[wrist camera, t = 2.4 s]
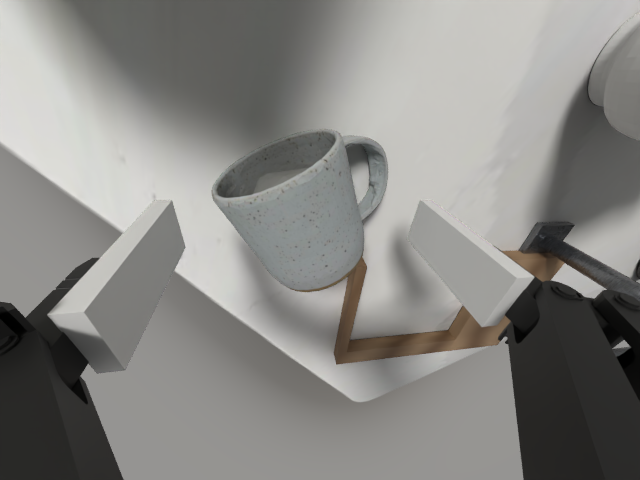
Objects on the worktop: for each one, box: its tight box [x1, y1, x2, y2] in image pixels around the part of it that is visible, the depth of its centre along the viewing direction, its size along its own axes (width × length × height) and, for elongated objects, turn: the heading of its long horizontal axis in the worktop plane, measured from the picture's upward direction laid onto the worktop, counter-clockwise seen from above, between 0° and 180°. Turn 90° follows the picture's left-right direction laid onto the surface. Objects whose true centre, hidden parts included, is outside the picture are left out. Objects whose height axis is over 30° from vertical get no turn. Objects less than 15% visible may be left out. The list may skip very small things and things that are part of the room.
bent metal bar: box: [519, 222, 640, 357], centre depth 19 cm, size 17×4×14 cm, turn 86°
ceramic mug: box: [212, 129, 388, 292], centre depth 15 cm, size 11×8×8 cm
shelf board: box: [334, 251, 564, 364], centre depth 29 cm, size 24×16×2 cm, turn 86°
